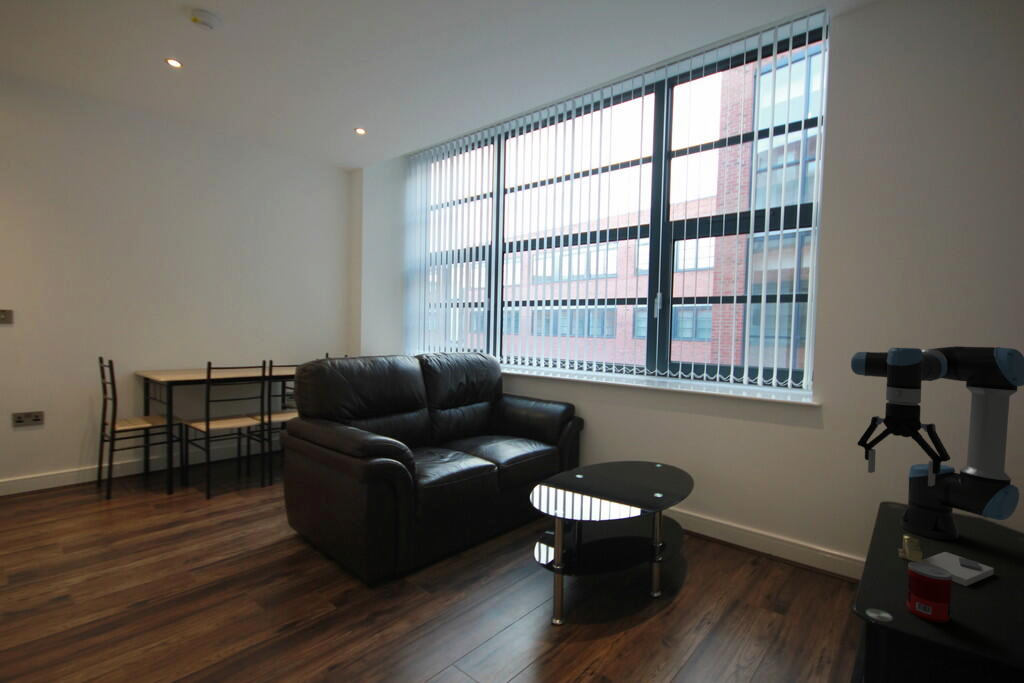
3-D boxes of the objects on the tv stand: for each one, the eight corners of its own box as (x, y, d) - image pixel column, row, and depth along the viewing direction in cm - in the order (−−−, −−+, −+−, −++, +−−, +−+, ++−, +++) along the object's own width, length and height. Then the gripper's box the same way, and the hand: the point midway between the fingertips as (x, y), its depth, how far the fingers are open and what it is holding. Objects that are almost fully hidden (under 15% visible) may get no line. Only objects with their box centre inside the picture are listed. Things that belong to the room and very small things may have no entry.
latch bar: (901, 549, 147) (902, 533, 147) (916, 552, 145) (917, 536, 145) (906, 564, 138) (907, 547, 138) (922, 567, 136) (923, 550, 136)
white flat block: (944, 557, 145) (945, 549, 145) (993, 574, 135) (993, 565, 135) (917, 567, 138) (917, 558, 138) (966, 586, 128) (966, 576, 128)
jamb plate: (898, 551, 148) (898, 548, 148) (919, 556, 146) (919, 553, 146) (900, 557, 144) (900, 554, 144) (921, 562, 141) (922, 559, 141)
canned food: (958, 625, 110) (960, 579, 110) (918, 620, 112) (920, 574, 112) (936, 607, 118) (938, 563, 118) (899, 602, 119) (901, 559, 119)
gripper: (846, 398, 141) (843, 468, 141) (958, 410, 120) (955, 493, 121) (856, 396, 145) (854, 465, 145) (967, 408, 124) (964, 488, 125)
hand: (900, 478), depth 133 cm, fingers open, 13 cm apart
